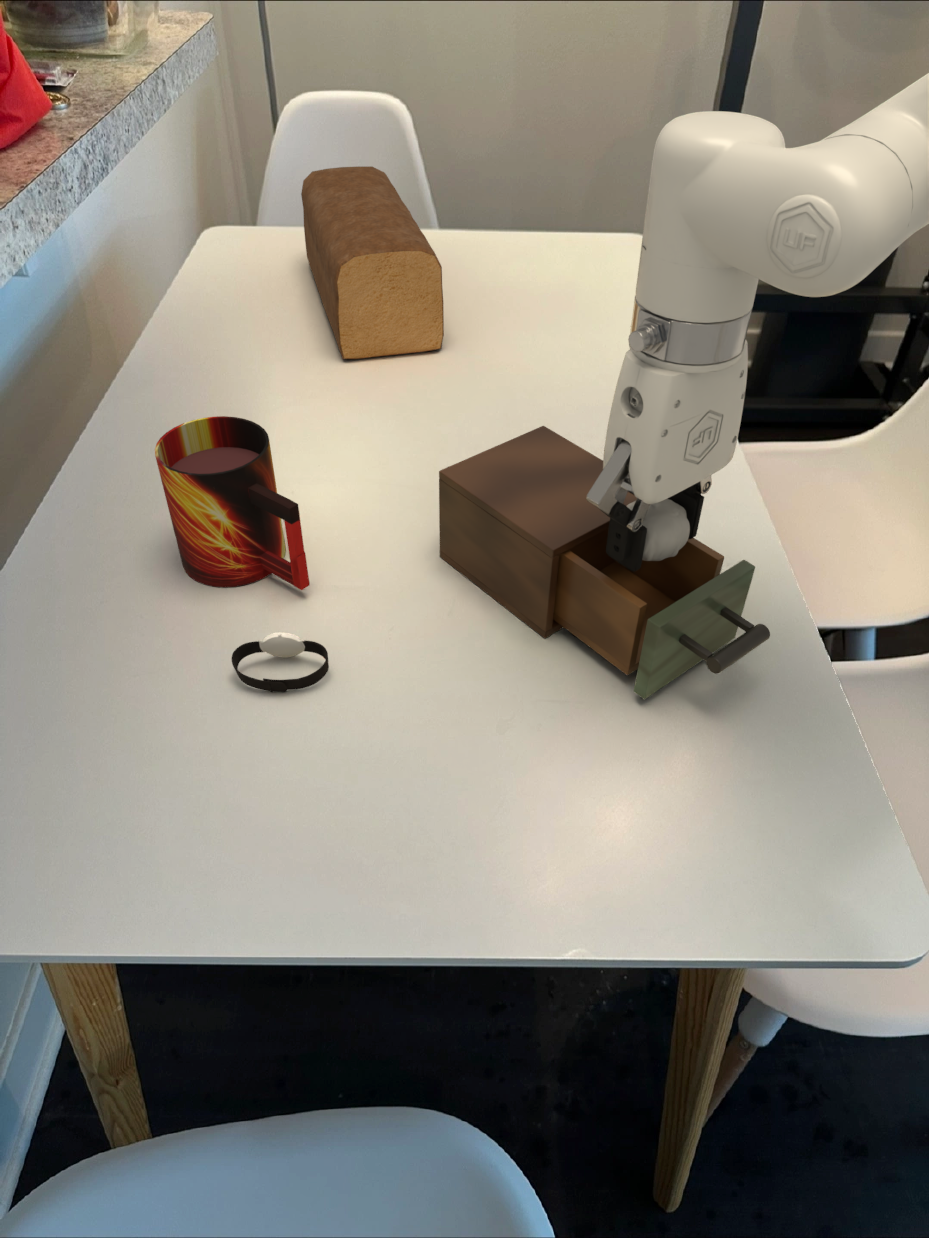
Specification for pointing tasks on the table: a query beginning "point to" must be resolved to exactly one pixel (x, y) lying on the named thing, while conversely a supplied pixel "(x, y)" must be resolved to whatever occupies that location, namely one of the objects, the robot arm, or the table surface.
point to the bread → (371, 264)
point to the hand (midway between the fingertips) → (651, 544)
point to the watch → (281, 647)
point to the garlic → (664, 530)
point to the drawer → (656, 610)
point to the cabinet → (520, 519)
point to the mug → (229, 504)
